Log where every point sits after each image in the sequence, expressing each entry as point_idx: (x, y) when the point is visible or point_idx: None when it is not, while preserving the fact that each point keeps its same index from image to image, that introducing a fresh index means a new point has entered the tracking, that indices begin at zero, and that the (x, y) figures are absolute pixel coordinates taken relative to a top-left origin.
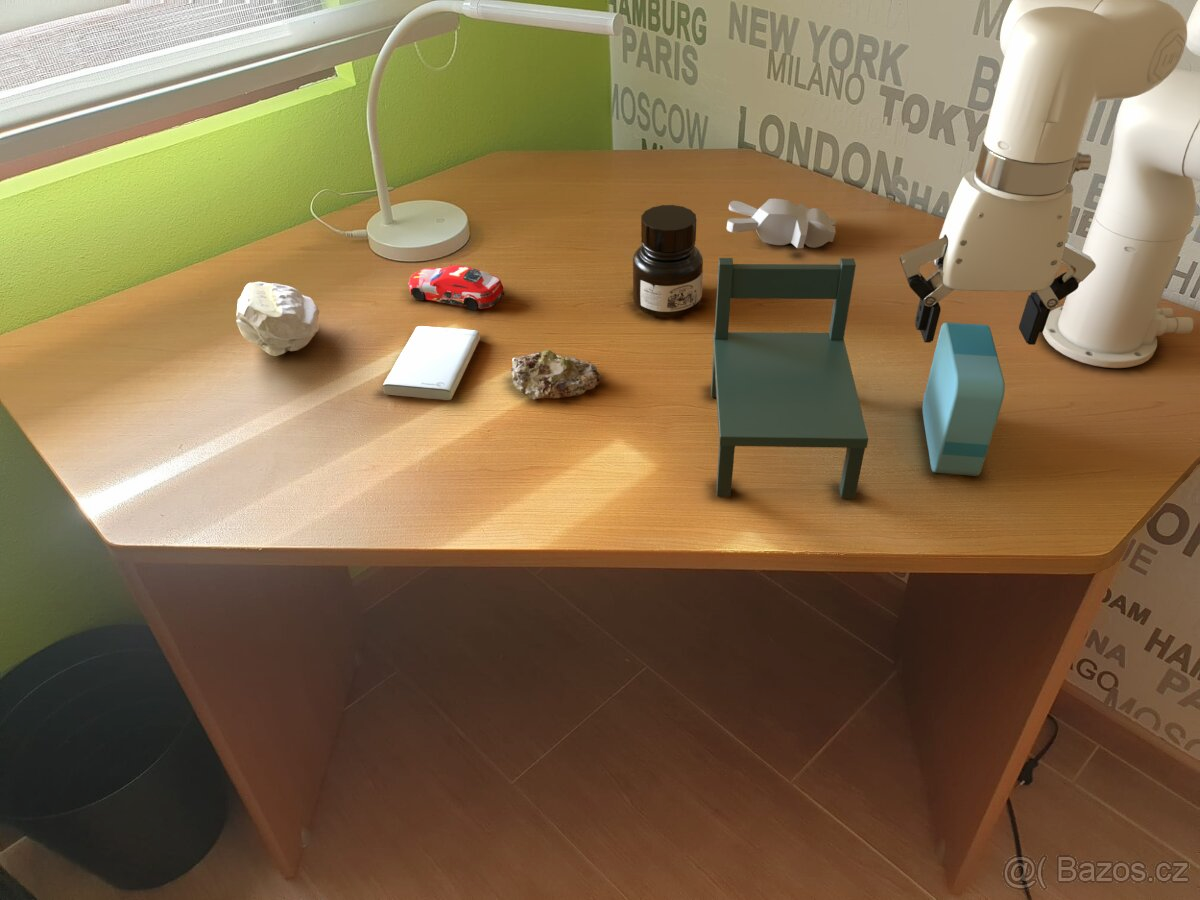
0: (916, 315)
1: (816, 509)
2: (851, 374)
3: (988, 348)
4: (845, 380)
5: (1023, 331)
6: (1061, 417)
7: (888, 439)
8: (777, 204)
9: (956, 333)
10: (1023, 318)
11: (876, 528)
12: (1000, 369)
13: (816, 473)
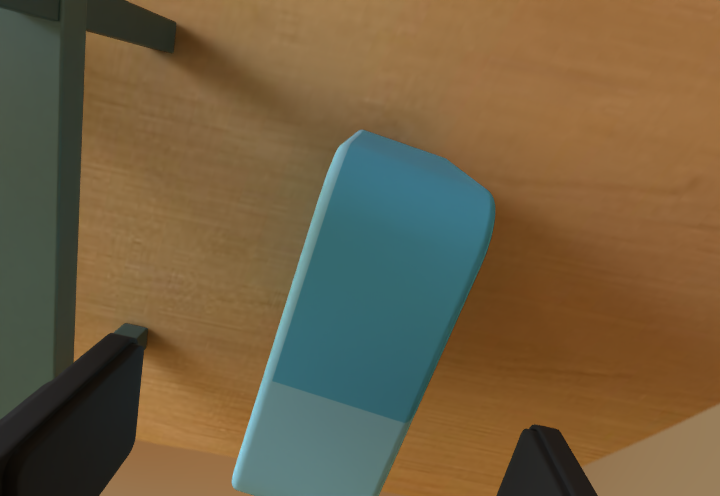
0: (30, 396)
1: (79, 355)
2: (54, 213)
3: (402, 381)
4: (33, 235)
5: (513, 480)
6: (637, 222)
7: (253, 214)
8: None
9: (334, 272)
10: (538, 485)
11: (165, 409)
12: (382, 479)
13: (93, 276)
